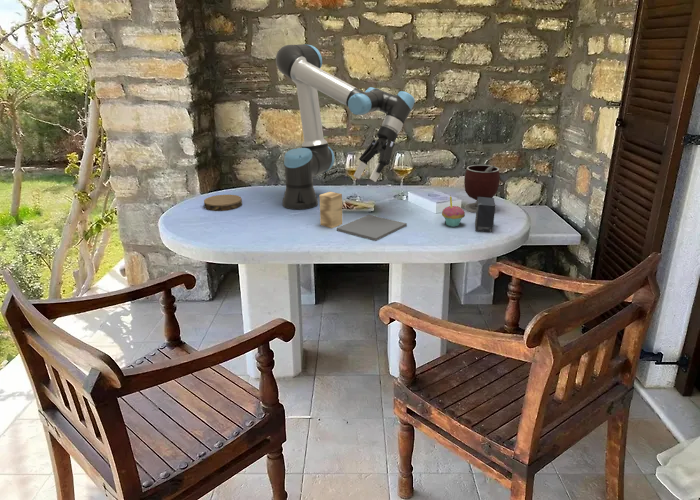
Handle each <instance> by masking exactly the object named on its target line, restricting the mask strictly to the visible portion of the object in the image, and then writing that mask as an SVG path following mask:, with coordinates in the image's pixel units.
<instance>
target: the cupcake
mask: <svg viewBox="0 0 700 500" xmlns="http://www.w3.org/2000/svg"><path fill="white" fill-rule="evenodd" d="M441 212H442V213H441V216H442V217H443V218H444V220H445V225H446V226H447V227H458V226H459V225H460V223H461V221H462V219H463V218H464V217H465V215H466V212H465V209H463V208H462V207H460V206H457V205H453V200H452V196H451V194H450V195H449V206H446V207H444V208H443V209H442V211H441Z"/></svg>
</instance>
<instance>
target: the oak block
mask: <svg viewBox="0 0 700 500" xmlns="http://www.w3.org/2000/svg"><path fill="white" fill-rule="evenodd" d="M319 217H320V218H319V219H320V220H319V221H320V226H323V227H326V228H329V229H334V228H338V227H340V226H343V194H342V193H339V192H334V191H327V192H324V193H321V194H319Z"/></svg>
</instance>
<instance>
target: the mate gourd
mask: <svg viewBox="0 0 700 500" xmlns="http://www.w3.org/2000/svg"><path fill="white" fill-rule="evenodd" d="M500 180H501V179H500V167H497V166H495V165H488V164H473V165H469V166H467V167H466V170H465V175H464V181H463V183H464V191H465V193H466V195H467V196H468V197H469V198H471V199H473V200H475V202H472V203H467V204H465V205H464V211H467V212H470V213H475V214H476V210H477V199H478V197H487V198H494V197H495V195H496V194H497V192H498V190H499V186H500Z"/></svg>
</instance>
